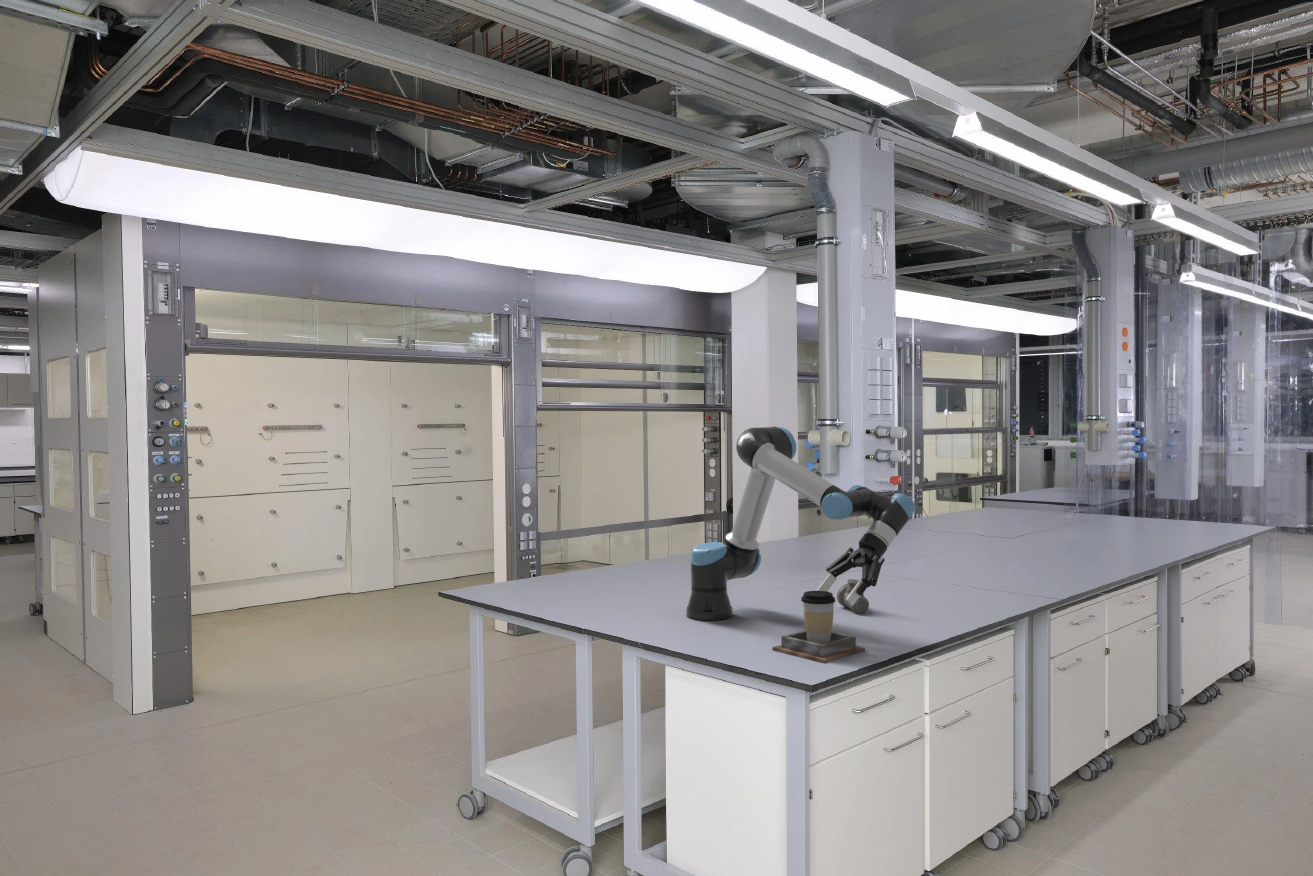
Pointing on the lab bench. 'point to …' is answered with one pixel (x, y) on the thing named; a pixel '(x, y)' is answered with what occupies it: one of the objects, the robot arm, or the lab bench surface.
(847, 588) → the pipe fitting
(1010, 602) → the lab bench surface
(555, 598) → the lab bench surface
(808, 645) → the square rimmed tray
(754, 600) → the lab bench surface
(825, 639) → the coffee cup
